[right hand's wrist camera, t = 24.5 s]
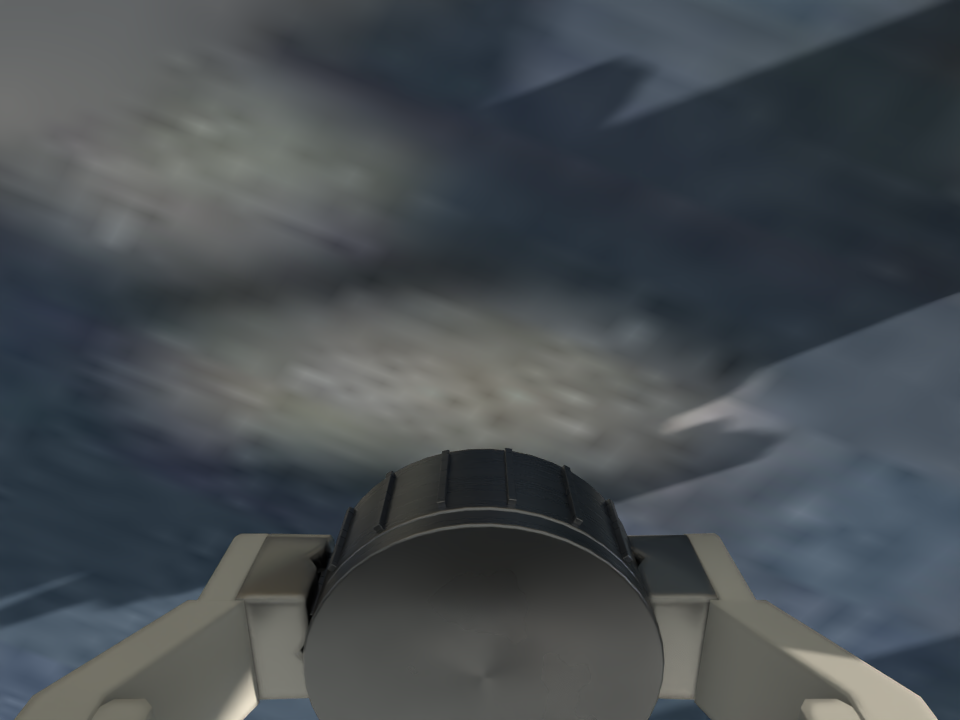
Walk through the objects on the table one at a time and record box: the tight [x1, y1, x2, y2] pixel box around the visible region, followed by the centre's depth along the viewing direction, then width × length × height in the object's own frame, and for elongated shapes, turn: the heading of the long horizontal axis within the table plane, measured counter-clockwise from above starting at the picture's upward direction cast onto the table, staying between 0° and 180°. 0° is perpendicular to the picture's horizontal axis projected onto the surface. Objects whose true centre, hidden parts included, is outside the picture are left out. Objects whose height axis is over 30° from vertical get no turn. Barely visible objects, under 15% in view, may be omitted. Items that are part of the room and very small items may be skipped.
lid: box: [303, 448, 665, 720], centre depth 10 cm, size 5×5×2 cm
